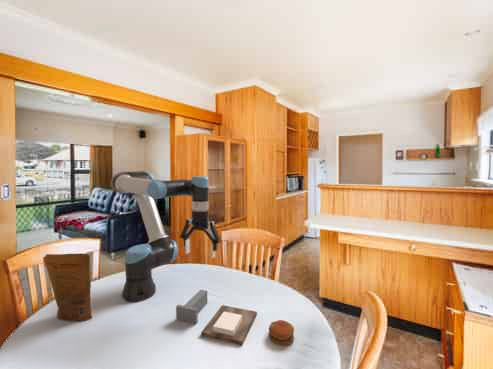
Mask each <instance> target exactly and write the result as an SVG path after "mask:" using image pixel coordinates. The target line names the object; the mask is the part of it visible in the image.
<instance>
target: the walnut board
mask: <svg viewBox="0 0 493 369" xmlns="http://www.w3.org/2000/svg"><path fill="white" fill-rule="evenodd" d="M223 312H229V313H234V314H239V315H242V321H241V323H240V325H239V327H238V328H237V330H236V332H235V334H234V336H231V335H227V334H222V333H218V332H213V326H214V324H215V323H216V322H217V320H218V319H219V317H220V316H221V315H222V313H223ZM257 315H258V311H254V310H250V309H245V308H240V307H236V306H235V307H234V306H228V305H224V304H223V305H221V306H220V307H219V309H218V310H217V311H216V313H215V314H214V315H213V316H212V317H211V319H210V320H209V322H208V323H207V324H206V326H205V327H204V328H203V330H202V331H201V333H200V335H201V337H203V338H204V337H205V338H208V339H211V340H212V339H213V340H218V341H222V342H226V343H229V344H233V345H239V346H243V345H244V342H245V341H246V338H247V336H248V335H249V332H250V330H251V329H252V326H253V324H254V322H255V320H256V317H257Z"/></svg>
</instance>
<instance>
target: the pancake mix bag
mask: <svg viewBox="0 0 493 369" xmlns="http://www.w3.org/2000/svg"><path fill="white" fill-rule="evenodd" d="M42 259H43V264H44V266H45V268H46V272H47V275H48V279H49V281H50V285H51V289H52V292H53V296H54V300H55V304H56V307H57V313H56V316H57V318H56V319H57V320H60V321H70V322H79V323H81V322H86V321H89V320H91V319H93V316H92V308H91V299H92V298H91V288H92V286H91V285H92V283H91V255H90V254H88V253H61V254H60V253H59V254H58V253H57V254H54V253H53V254H51V253H50V254H49V253H47V254H45V255H44V256H43V258H42Z"/></svg>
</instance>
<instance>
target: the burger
mask: <svg viewBox="0 0 493 369" xmlns="http://www.w3.org/2000/svg"><path fill="white" fill-rule="evenodd" d="M294 328H295V327H294V325H292V323H290V322H288V321H286V320H283V319H282V320H281V319H279V320H276V321H272V322H271V323H270V324H269V327H268V331H269V332H268V338H269V340H270V342H272V343H274V344H278V345H279V346H284V347H286V346H290V345H292V344H293V343H294V341H295V336H294V332H295V329H294Z"/></svg>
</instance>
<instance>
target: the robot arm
mask: <svg viewBox="0 0 493 369" xmlns="http://www.w3.org/2000/svg"><path fill="white" fill-rule="evenodd" d="M110 186H111V189H112V190H113V191H114V192H116V193H118V194H131V195H132V197H133V198H134V199H135V200H137V205H138V207H139V210H140V213H141V217H142V222H143V224H144V228H145V230H146V233H147V237H148V242H147V243H142V244H136V245H133V246H131V247H129V248H128V249H127V250H126V252H125V254H124V263H125V265H124V267H125V282H124V286H123V290H122V292H121V294H122V300H124V301H126V302H132V303H133V302H140V301H142V302H143V301H144V300H147V299H149V298H151V297H153V296H154V295H155V294H156V291H157V290H156V288H157V287H156V284H155V282H154V279H153V276H152V274H153V273H152V272H153V271H152V270H153V269H156V268H159V267H162V266H164V265H168V264H170V263H172V262H174V261H176V259H177V257H178V253H179V249H178V244H177V242H176V241H175V240H173V239H171V238H170V235H168V234H166V232H165V229H164V226H163V222H162V220H161V216H160V213H159V210H158V207H157V205H156V201H155V200H156V199H158V200H159V199H166V198H174V197H175V198H176V197H184V196H188V197H191V209H192V211H191V218H188V219H185V224H184V227H183V229H182V231H181V234H179V238H180V239H183V246H184V248H185V249H184V251H185V252H184V253H185V254H184V255H188V254H189V253H191V248H190V247H191V239H190V237H191V236H192V234H193V233H194V232H195V230H196V231H202V232H204V234H206V235H207V237H208V238H209V240H210V242H211V244H210V252H211V253H210V259H214V258H216V251H217V250H218V244H219V243H220V242H222V239H221V237H220V234H219V232H218V229H217V227H216V222H215V221H209V214H210V213H209V202H210V200H209V188H210V187H209V186H210V182H209V178H208V177H207V176H203V175H200V176H199V175H196V176H191V179H185V178H182V179H181V178H179V179H173V180H159V179H156V178H155V176H154V175H153V173H151V172H150V171H143V170H141V171H121V172H118V173H116V174H114V175H113V177H112V178H111V180H110ZM191 224H192V226H191ZM190 227H191V228H190ZM189 229H190V230H189Z"/></svg>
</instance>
